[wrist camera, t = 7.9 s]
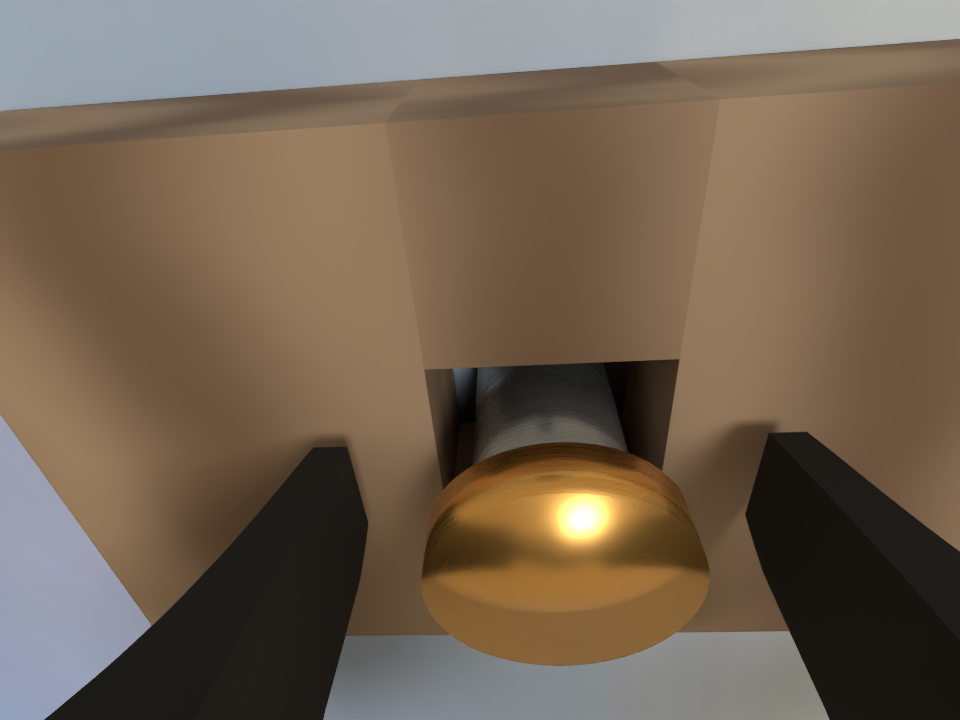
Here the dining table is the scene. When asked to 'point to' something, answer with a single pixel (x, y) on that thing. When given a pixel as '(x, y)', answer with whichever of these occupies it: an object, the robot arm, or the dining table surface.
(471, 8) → the dining table surface
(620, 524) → the pin
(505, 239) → the hitch block
